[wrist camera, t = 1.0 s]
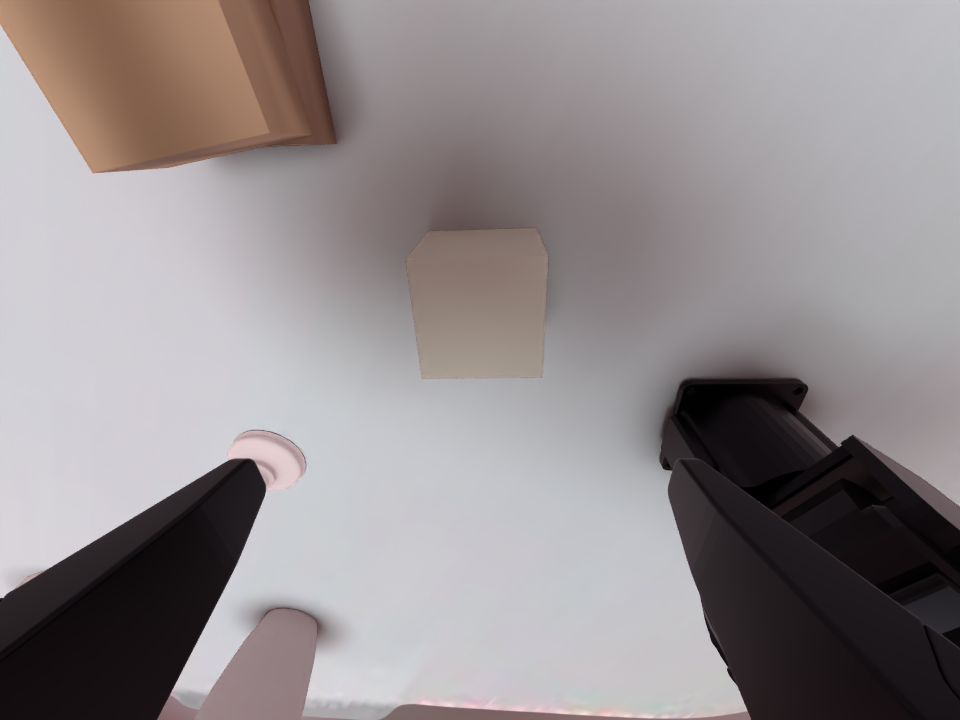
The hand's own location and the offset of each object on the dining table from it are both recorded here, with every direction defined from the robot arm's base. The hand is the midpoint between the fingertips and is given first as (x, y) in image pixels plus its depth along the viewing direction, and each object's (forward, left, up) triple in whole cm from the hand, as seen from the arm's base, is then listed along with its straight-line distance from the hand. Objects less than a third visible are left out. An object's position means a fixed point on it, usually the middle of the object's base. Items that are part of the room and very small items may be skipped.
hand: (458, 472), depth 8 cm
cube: (0, 0, -12) cm, 12 cm away
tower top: (+9, -9, -10) cm, 16 cm away
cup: (+20, +34, -12) cm, 41 cm away
